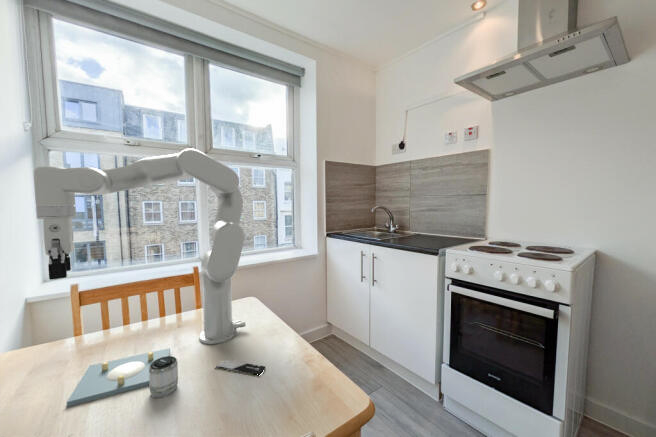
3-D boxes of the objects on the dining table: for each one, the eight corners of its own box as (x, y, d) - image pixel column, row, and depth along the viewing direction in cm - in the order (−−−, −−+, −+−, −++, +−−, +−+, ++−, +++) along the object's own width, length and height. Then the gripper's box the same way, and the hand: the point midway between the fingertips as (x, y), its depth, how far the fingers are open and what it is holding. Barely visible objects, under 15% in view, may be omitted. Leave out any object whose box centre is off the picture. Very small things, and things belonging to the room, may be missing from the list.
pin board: (170, 351, 86) (169, 342, 85) (165, 380, 71) (165, 369, 71) (90, 369, 76) (89, 358, 76) (66, 406, 62) (66, 393, 62)
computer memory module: (214, 367, 77) (223, 359, 80) (214, 370, 77) (223, 362, 81) (260, 375, 73) (267, 366, 77) (260, 378, 73) (267, 370, 77)
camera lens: (162, 401, 64) (161, 370, 64) (143, 395, 66) (142, 365, 66) (184, 384, 70) (183, 356, 69) (166, 379, 72) (165, 352, 71)
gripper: (72, 213, 67) (76, 278, 68) (78, 211, 81) (81, 266, 82) (28, 214, 63) (33, 284, 64) (42, 212, 76) (46, 271, 77)
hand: (60, 274), depth 73 cm, fingers open, 9 cm apart
